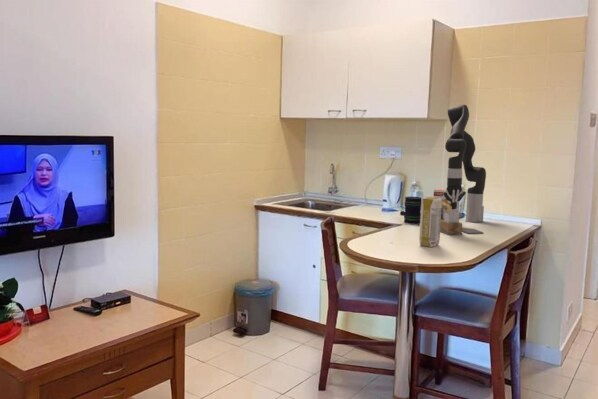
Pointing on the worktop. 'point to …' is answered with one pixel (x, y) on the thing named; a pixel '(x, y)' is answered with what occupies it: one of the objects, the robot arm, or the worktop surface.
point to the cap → (451, 217)
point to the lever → (445, 208)
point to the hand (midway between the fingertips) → (453, 209)
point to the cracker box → (439, 195)
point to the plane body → (450, 228)
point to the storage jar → (412, 210)
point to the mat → (471, 231)
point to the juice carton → (430, 221)
